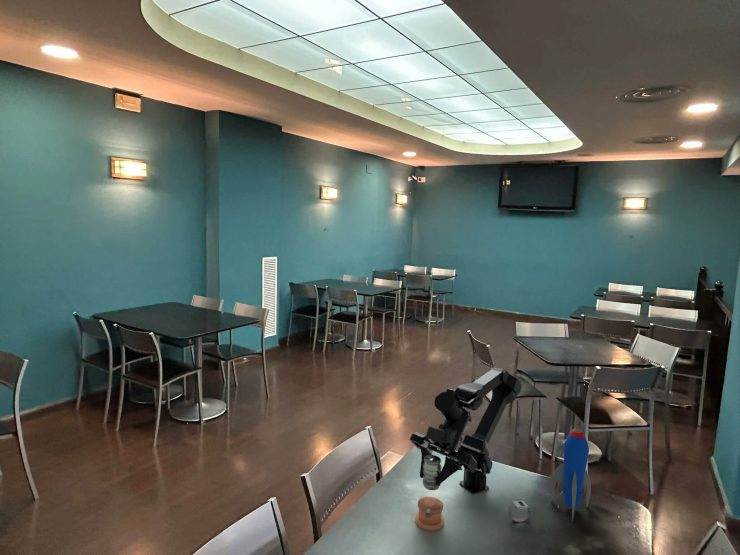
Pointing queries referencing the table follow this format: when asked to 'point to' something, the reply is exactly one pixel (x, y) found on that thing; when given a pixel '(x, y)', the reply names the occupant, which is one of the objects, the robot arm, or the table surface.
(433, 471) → the grey ribbed cylinder
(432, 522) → the housing
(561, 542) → the table surface
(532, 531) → the table surface
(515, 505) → the wristwatch
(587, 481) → the toy rocket
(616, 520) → the table surface
